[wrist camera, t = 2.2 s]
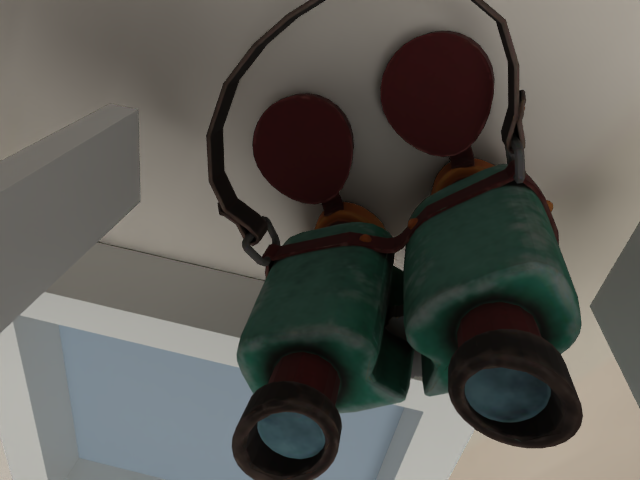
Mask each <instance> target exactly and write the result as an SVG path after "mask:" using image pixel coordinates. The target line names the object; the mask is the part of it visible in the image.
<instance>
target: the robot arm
mask: <svg viewBox="0 0 640 480" xmlns="http://www.w3.org/2000/svg"><path fill="white" fill-rule="evenodd" d="M139 202H140V161H139V118H138V109H134V108H129V107H125V106H120V105H116V104H111V103H110V104H108V105H106V106H105V107H103V108H101V109H99V110H97V111H95V112H93V113H91V114H89V115H87V116H85V117H84V118H82V119H80V120H78V121H76V122H74V123H72V124H70V125H68V126H66V127H64V128H63V129H61V130H59V131H57V132H55V133H53V134H51V135H49V136H47V137H45V138H44V139H42V140H40V141H38V142H36V143H34V144H32V145H30V146H28V147H26V148H24V149H23V150H21V151H19V152H17V153H15V154H13V155H11V156H9V157H7V158H5V159H3V160H2V161H0V333H1V332H2V331H3V330H4V329H5V328H7V327H8V326H9V325H10V324H11V323H12V322H13V321H14V320H15V319H16V318H17V317H18V316H19V315H20V314H21V313H22V312H24V311H25V310H26V309H27V308H28V307H29V306H30V305H31V304H32V303H33V302H34V301H35V300H36V299H37V298H38V297H39V296H41V295H42V294H43V293H44V292H45V291H46V290H47V289H48V288H49V287H50V286H51V285H52V284H53V283H54V282H55V281H56V280H57V279H59V278H60V277H61V276H62V275H63V274H64V273H65V272H66V271H67V270H68V269H69V268H70V267H71V266H72V265H73V264H74V263H76V262H77V261H78V260H79V259H80V258H81V257H82V256H83V255H84V254H85V253H86V252H87V251H88V250H89V249H90V248H91V247H93V246H94V245H95V244H96V243H97V242H98V241H99V240H100V239H101V238H102V237H103V236H104V235H105V234H106V233H107V232H108V231H110V230H111V229H112V228H113V227H114V226H115V225H116V224H117V223H118V222H119V221H120V220H121V219H122V218H123V217H124V216H125V215H127V214H128V213H129V212H130V211H131V210H132V209H133V208H134V207H135V206H136V205H137V204H138V203H139ZM590 308H591V310H592V312H593V314H594V316H595V318H596V320H597V322H598V324H599V326H600V328H601V330H602V332H603V334H604V336H605V338H606V340H607V342H608V344H609V346H610V349H611V351H612V353H613V355H614V357H615V359H616V361H617V363H618V365H619V367H620V369H621V371H622V373H623V375H624V377H625V379H626V381H627V383H628V385H629V387H630V389H631V392H632V394H633V396H634V398H635V400H636V402H637V404H638V406H639V408H640V222H639V224H638V225H637V227H636V229H635V230H634V232H633V234H632V236H631V237H630V239H629V241H628V242H627V244H626V246H625V247H624V249H623V251H622V252H621V254H620V256H619V258H618V259H617V261H616V263H615V264H614V266H613V268H612V269H611V271H610V273H609V274H608V276H607V278H606V279H605V281H604V283H603V285H602V286H601V288H600V290H599V291H598V293H597V295H596V296H595V298H594V300H593V301H592V303H591V305H590Z"/></svg>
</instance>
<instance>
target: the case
mask: <svg viewBox="0 0 640 480" xmlns="http://www.w3.org/2000/svg"><path fill="white" fill-rule="evenodd" d="M264 282H265V281H262V280H258V279H253V278H249V277H245V276H241V275H236V274H232V273H228V272H223V271H219V270H215V269H210V268H206V267H202V266H197V265H193V264H189V263H184V262H180V261H176V260H171V259H167V258H163V257H158V256H154V255H150V254H145V253H141V252H137V251H133V250H128V249H124V248H120V247H115V246H111V245H107V244H102V243H98V242H97V243H96V244H95V245H94V246H93V247H91V248H90V249H89V250H88V251H87V252H86V253H85V254H84V255H83V256H82V257H81V258H80V259H79V260H78V261H77V262H76V263H74V264H73V265H72V266H71V267H70V268H69V269H68V270H67V271H66V272H65V273H64V274H63V275H62V276H61V277H60V278H59V279H57V280H56V281H55V282H54V283H53V284H52V285H51V286H50V287H49V288H48V289H47V290H46V291H45V292H44V293H43V294H42V295H41V296H39V297H38V298H37V299H36V300H35V301H34V302H33V303H32V304H31V305H30V306H29V307H28V308H27V309H26V310H25V311H24V312H22V313H21V314H20V315H19V316H18V317H17V318H16V319H15V320H14V321H13V322H12V323H11V324H10V325H9V326H8V327H7V328H5V329H4V330H3V331H2V332H1V333H0V438H1V441H2V445H3V448H4V452H5V455H6V459H7V462H8V466H9V469H10V473H11V476H12V480H253V479H252V478H251V477H249V476H248V475H246V474H245V473H244V472H243V471H242V470H241V469H240V467H239V466H238V465H237V463H236V461H235V459H234V457H233V452H232V437H233V434H234V432H235V429H236V427H237V425H238V422H239V420H240V418H241V416H242V414H243V412H244V410H245V408H246V406H247V404H248V402H249V400H250V398H251V396H252V395H253V392H252V391H251V389H250V387H249V385H248V384H247V382H246V380H245V378H244V376H243V375H242V373H241V370H240V368H239V365H238V362H237V355H236V354H237V349H238V345H239V341H240V337H241V334H242V332H243V330H244V327H245V325H246V323H247V320H248V318H249V316H250V314H251V311H252V309H253V307H254V304H255V302H256V300H257V297H258V295H259V293H260V290H261V288H262V286H263V284H264ZM339 414H340V417H341V422H342V430H341V436H340V443H339V448H338V453H337V455H336V458H335V460H334V462H333V463H332V464H331V466H330V467H329V468H328V469H327V470H326V471H325V472H324V473H323V474H321V475H320V476H319V477H317V478H315V479H314V480H448V479H449V477H450V475H451V473H452V471H453V469H454V467H455V466H456V464H457V462H458V460H459V458H460V456H461V454H462V452H463V451H464V449H465V447H466V445H467V443H468V441H469V439H470V437H471V436H472V434H473V432H474V430H475V429H474V428H473V427H472V426H470V425H469V424H468V423H467V422H466V421H464V419H463V418H462V417H461V416H460V415H459V414H458V413H457V411H456V410H455V408H454V406H453V404H452V403H451V400H450V397H449V393H446V394H441V395H435V396H430V397H429V396H426V395H425V394H424V388H423V382H422V377H416V376H415V377H414V378H411V380H410V386H409V390H408V393H407V396H406V399H405V401H403V402H400V403H396V404H391V405H387V406H382V407H377V408H373V409H368V410H363V411H359V412H351V413H339Z"/></svg>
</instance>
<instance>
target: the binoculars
mask: <svg viewBox="0 0 640 480" xmlns="http://www.w3.org/2000/svg"><path fill="white" fill-rule="evenodd" d="M324 1H325V0H309V1H307V2H306V3H304V4H303V5H301V6H299V7H298V8H296V9H295V10H293V11H292V12H290V13H288V14H287V15H286V16H285V17H283V18H282V19H281V20H280V21H279V22H278V23H277V24H275V25H274V26H273V27H272V28H271V29H270V30H269V31H268V32H266V33H265V34H264V35H263V36H262V37H261V38H260V39H258V40H257V41H256V42H255V43H254V44H253V45H252V46H251V48H250V49H249V50H248V52H247V53H246V54H245V56H244V57H243V58H242V59H241V61H240V62H239V63H238V65H237V66H236V67H235V69H234V70H233V71H232V73H231V74H230V75H229V77H228V78H227V79H226V81H225V82H224V83H223V86H222V89H221V92H220V95H219V98H218V101H217V104H216V107H215V110H214V114H213V117H212V120H211V123H210V126H209V129H208V132H207V135H206V138H207V157H208V176H209V183H210V185H211V187H212V189H213V191H214V193H215V195H216V197H217V199H218V201H219V203H218V209H219V215H222V216H225V217H226V218H228V219H229V220H230V221H232V222H233V223H235V224H236V225H237V227H238V229H239V231H240V233H241V235H242V237H243V241H242V247H243V249H244V251H245V252H246V253H247V254H248V255H249V256H250V257H251V258H252V259H253V260H254V261H255V262H256V263H257V264H259V265H262V266H266V270H265V275H266V280H265V282H264V284H263V286H262V288H261V290H260V293H259V295H258V297H257V300H256V302H255V304H254V307H253V309H252V311H251V314H250V316H249V318H248V320H247V323H246V325H245V327H244V330H243V332H242V334H241V337H240V341H239V345H238V349H237V354H236V355H237V362H238V365H239V368H240V370H241V373H242V375H243V376H244V378H245V380H246V382H247V384H248V385H249V387H250V389H251V391H252V392H253V395H252V396H251V398H250V400H249V402H248V404H247V406H246V408H245V410H244V412H243V414H242V416H241V418H240V420H239V422H238V425H237V427H236V429H235V432H234V434H233V437H232V452H233V457H234V459H235V461H236V463H237V465H238V466H239V467H240V469H241V470H242V471H243V472H244V473H245V474H246V475H248V476H249V477H251V478H252V479H253V480H314V479H315V478H317V477H319V476H320V475H321V474H323V473H324V472H325V471H326V470H327V469H328V468H329V467H330V466H331V464H332V463H333V462H334V460H335V458H336V455H337V453H338V448H339V443H340V436H341V430H342V422H341V417H340V414H339V413H351V412H359V411H363V410H368V409H373V408H377V407H382V406H387V405H391V404H396V403H400V402H403V401H405V399H406V396H407V393H408V390H409V386H410V380H411V378H414V377H415V376H416V377H422V382H423V388H424V394H425V395H426V396H429V397H430V396H435V395H441V394H446V393H449V397H450V400H451V403H452V404H453V406H454V408H455V410H456V411H457V413H458V414H459V415H460V416H461V417H462V418H463V419H464V421H466V422H467V423H468V424H469V425H470V426H472V427H473V428H474V429H475V430H477V431H479V432H480V433H482V434H484V435H485V436H487V437H489V438H491V439H494V440H496V441H498V442H501V443H505V444H508V445H512V446H516V447H523V448H546V447H552V446H556V445H558V444H561V443H563V442H566V441H567V440H569V439H570V438H571V437H573V436H574V435H575V434H576V432H577V431H578V429H579V428H580V426H581V422H582V418H583V414H582V407H581V403H580V400H579V398H578V395H577V392H576V390H575V387H574V385H573V382H572V379H571V377H570V374H569V372H568V369H567V366H566V364H565V362H564V360H563V358H562V356H561V354H562V353H563V352H564V351H566V350H567V349H568V348H569V347H570V346H571V345H572V344H573V343H574V342H575V340H576V339H577V337H578V335H579V333H580V329H581V315H580V308H579V302H578V296H577V294H576V291H575V288H574V286H573V283H572V280H571V277H570V275H569V272H568V269H567V267H566V264H565V261H564V259H563V256H562V253H561V251H560V248H559V235H558V230H557V227H556V224H555V222H554V219H553V217H552V214H551V211H552V209H553V204H552V203H551V202H550V201H548V200H546V198H545V197H544V195H543V194H542V192H541V190H540V189H539V187H538V186H537V185H536V184H535V182H534V181H533V180H532V179H531V177H530V176H528V174H527V173H526V171H525V159H524V148H525V137H524V131H523V125H522V119H523V115H524V110H525V103H526V96H525V91H524V90H520V91H519V63H518V60H517V56H516V53H515V49H514V46H513V43H512V39H511V36H510V32H509V29H508V26H507V22H506V20H505V19H504V18H503V17H502V16H501V15H499V14H498V13H497V12H496V11H495V10H494V9H492V8H491V7H490V6H489V5H488V4H487V3H485V2H484V1H483V0H471V1H472V2H474V3H475V4H476V5H477V6H478V7H479V8H481V9H482V10H483V11H484V12H485V13H486V14H488V15H489V16H490V17H491V18H492V19H493V20H495V21H496V23H497V27H498V30H499V34H500V37H501V40H502V44H503V47H504V50H505V54H506V57H507V60H508V109H507V112H506V116H505V119H504V123H503V126H502V130H501V135H502V141H503V143H504V145H505V149H506V156H507V164H501V165H496V166H495V165H493V164H490V163H488V162H486V161H483V160H480V159H475V158H474V155H473V152H472V148H471V144H472V143H473V142H474V141H475V140H476V139H477V138H478V136H479V134H480V133H481V131H482V130H483V128H484V126H485V124H486V121H487V119H488V116H489V114H490V109H491V105H492V100H493V95H494V74H493V67H492V65H491V62H490V60H489V58H488V56H487V54H486V53H485V51H484V50H483V49H482V47H481V46H480V45H479V44H477V43H476V42H475V41H474V40H472V39H471V38H469V37H467V36H465V35H463V34H461V33H456V32H451V31H436V32H432V33H429V34H425V35H422V36H419V37H416V38H414V39H413V40H411V41H409V42H408V43H406V44H405V45H403V46H402V47H401V48H400V49H399V50H398V51H397V52H396V53H395V54H394V56H393V57H392V58H391V60H390V61H389V63H388V64H387V67H386V69H385V71H384V74H383V77H382V82H381V87H380V89H381V103H382V107H383V112H384V114H385V116H386V118H387V120H388V122H389V124H390V125H391V126H392V128H393V129H394V130H395V131H396V133H397V134H398V135H399V136H400V137H402V138H403V139H404V140H405V141H406V142H407V143H409V144H410V145H412V146H413V147H415V148H416V149H418V150H420V151H422V152H425V153H427V154H430V155H435V156H441V157H446V156H450V159H451V162H450V163H448V164H447V165H445V166H444V167H443V168H442V169H441V171H440V172H439V173H438V175H437V177H436V179H435V181H434V184H433V188H432V192H431V196H429V197H427V198H426V199H425V200H424V201H423V202H422V203H421V204H420V205H419V206H418V207H417V208H416V210H415V211H414V212H413V214H412V216H411V218H410V220H409V221H408V227H407V228H406V229H405V230H404V231H403V232H402V233H401V234H400V235H398V236H396V237H392V236H391V234H390V233H389V232H388V231H386V229H385V228H384V226H383V224H382V223H381V221H380V220H379V219H378V218H377V217H376V216H375V215H374V214H373V213H371V212H369V211H368V210H366V209H365V208H363V207H361V206H359V205H356V204H354V203H348V202H342V199H341V196H340V194H339V191H340V190H341V189H342V188H343V186H344V184H345V182H346V180H347V178H348V175H349V171H350V168H351V164H352V159H353V149H354V142H353V133H352V129H351V125H350V123H349V121H348V119H347V117H346V115H345V114H344V113H343V111H342V110H341V109H340V108H339V107H338V106H337V105H336V104H334V103H333V102H332V101H330V100H329V99H327V98H324V97H322V96H319V95H315V94H309V93H306V94H296V95H293V96H289V97H286V98H283V99H281V100H279V101H277V102H276V103H274V104H272V105H271V106H270V107H269V108H268V109H267V110H266V111H265V112H264V113H263V114H262V116H261V118H260V119H259V121H258V122H257V125H256V128H255V131H254V136H253V153H254V158H255V161H256V164H257V166H258V168H259V170H260V171H261V173H262V175H263V176H264V177H265V179H266V180H267V181H268V182H269V183H270V184H271V185H272V186H273V187H274V188H276V189H277V190H278V191H279V192H281V193H282V194H284V195H286V196H287V197H289V198H291V199H293V200H296V201H299V202H302V203H306V204H320V203H322V206H323V209H324V211H323V212H322V214H321V215H320V217H319V218H318V221H317V224H316V226H315V229H314V230H311V231H306V232H302V233H299V234H297V235H295V236H292V237H290V238H289V239H288V240H287V241H286V242H285V243H284V245H283V246H280V241H279V237H278V235H277V233H276V231H275V229H274V227H273V225H272V223H271V221H270V220H269V219H268V218H267V217H264V216H262V217H261V216H260V215H259V214H258V213H257V212H256V211H254V210H253V209H251V208H250V207H249V206H247V205H246V204H245V203H243V202H242V201H241V200H239V199H238V198H237V196H236V194H235V192H234V190H233V188H232V186H231V183H230V181H229V179H228V177H227V175H226V173H225V171H224V144H223V126H224V123H225V121H226V118H227V115H228V112H229V109H230V106H231V103H232V100H233V97H234V94H235V91H236V89H237V86H238V83H239V80H240V79H241V77H242V76H243V75H244V74H245V72H246V71H247V70H248V68H249V67H250V66H251V65H252V63H253V62H254V61H255V59H256V58H257V57H258V56H259V54H260V53H261V52H262V50H263V49H264V48H265V47H266V45H267V44H268V43H269V42H271V41H272V40H273V39H274V38H275V37H276V36H277V35H279V34H280V33H281V32H282V31H283V30H284V29H286V28H287V27H288V26H289V25H290V24H291V23H292V22H294V21H295V20H296V19H297V18H298V17H300V16H301V15H303V14H304V13H306V12H308V11H309V10H311V9H312V8H314V7H316V6H317V5H319V4H321V3H322V2H324ZM267 230H268V232H269V234H270V236H271V238H272V244H271V245H269V246H268V248H267V249H266V251H265V253H264V254H263V256H262V257H261V256H260V255H259V254H258V253H257V252H256V251H255V250H254V249H253V248H252V247H251V246H254V245H256V244H257V243H259V242H260V240H261V239H262V237H263V236H264V234H265V233H266V232H267ZM250 245H251V246H250ZM405 245H406V249H405V260H404V271H402V270H400V269H398V268H397V267H395V266H393V263H394V254H395V253H396V252H397V251H399V250H401V249H402V248H403V247H404V246H405Z"/></svg>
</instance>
